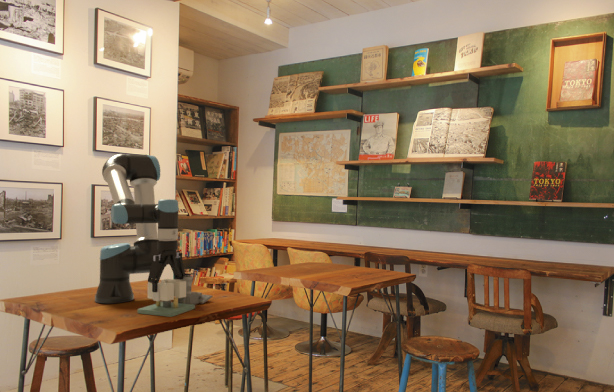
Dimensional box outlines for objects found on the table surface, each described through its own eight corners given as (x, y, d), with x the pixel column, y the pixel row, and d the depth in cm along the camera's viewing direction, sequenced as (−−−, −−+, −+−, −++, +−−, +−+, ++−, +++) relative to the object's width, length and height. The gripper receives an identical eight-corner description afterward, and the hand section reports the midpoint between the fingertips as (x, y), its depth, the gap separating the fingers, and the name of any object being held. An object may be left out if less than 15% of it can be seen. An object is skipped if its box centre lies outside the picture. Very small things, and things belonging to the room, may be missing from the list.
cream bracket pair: (186, 296, 191) (186, 281, 191) (166, 301, 182) (166, 284, 182) (167, 294, 196) (167, 278, 196) (147, 298, 187) (147, 282, 187)
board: (137, 313, 184) (137, 294, 184) (162, 305, 198) (162, 287, 198) (171, 316, 179) (171, 297, 179) (194, 308, 193) (195, 290, 193)
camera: (172, 276, 198) (196, 272, 211) (172, 306, 197) (195, 300, 211) (190, 278, 194) (213, 273, 207) (189, 308, 194) (212, 302, 207)
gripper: (152, 242, 177) (151, 304, 177) (195, 238, 197) (194, 294, 197) (137, 241, 181) (136, 302, 180) (180, 237, 201) (180, 292, 200)
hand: (166, 298), depth 189 cm, fingers closed on cream bracket pair, 10 cm apart
